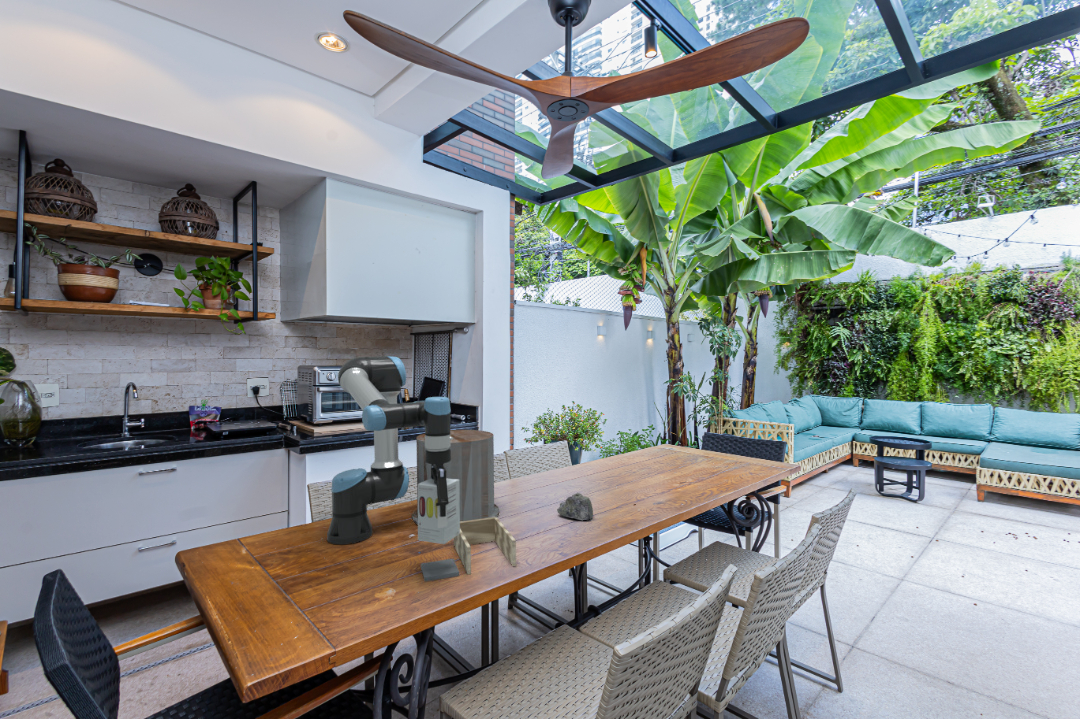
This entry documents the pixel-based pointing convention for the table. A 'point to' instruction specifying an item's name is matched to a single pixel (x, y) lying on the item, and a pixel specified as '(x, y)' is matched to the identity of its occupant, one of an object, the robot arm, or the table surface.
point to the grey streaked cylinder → (466, 472)
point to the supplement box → (429, 512)
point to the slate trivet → (439, 569)
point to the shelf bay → (483, 539)
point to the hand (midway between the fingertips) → (439, 519)
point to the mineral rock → (576, 507)
